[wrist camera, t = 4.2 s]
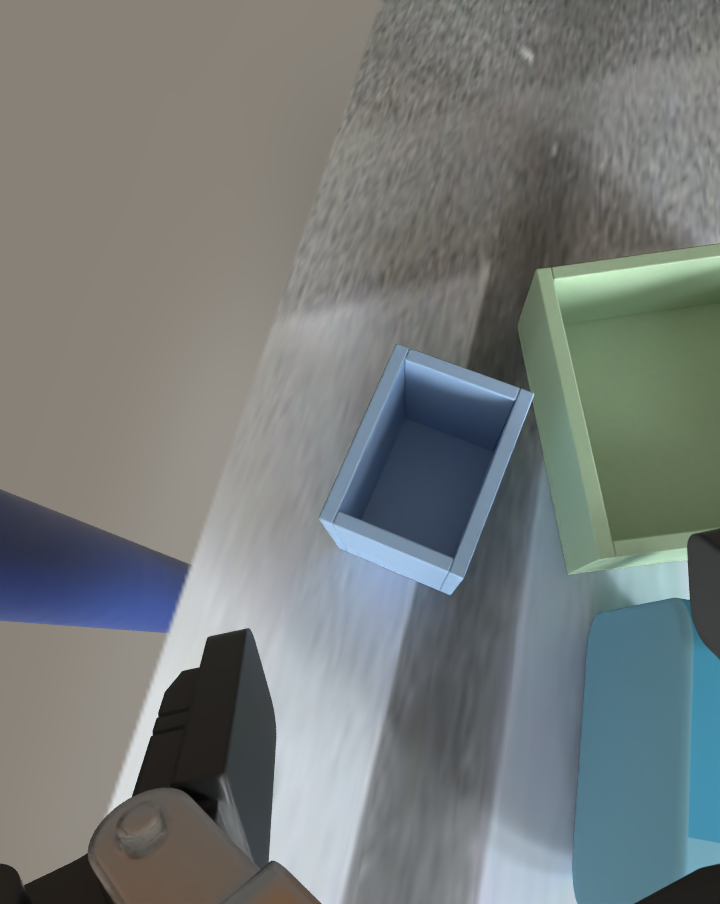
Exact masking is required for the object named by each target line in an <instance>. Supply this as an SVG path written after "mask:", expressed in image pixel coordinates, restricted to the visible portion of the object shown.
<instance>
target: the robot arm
mask: <svg viewBox="0 0 720 904" xmlns="http://www.w3.org/2000/svg"><path fill="white" fill-rule="evenodd" d="M687 556H688V573H689V591H690V608H691V615H692V620H693V623H694V626H695V628H696V631H697V633H698V635H699V637H700V638H701V640H702V641H703V643H704V644H705V645H706V646H707V647H708V649H709V650H710V651H711V652H712V653H713V654H714V655H715V656H716V657H717V658H718V659H719V660H720V528H718V529H713V530H709V531H704V532H700V533H695V534H692V535H691V536H690V537H689V539H688V543H687ZM158 715H159V718H157V719H156V722H155V725H154V728H153V736H151V738H150V741H149V744H148V747H147V751H146V754H145V757H144V760H143V763H142V766H141V770H140V773H139V776H138V779H137V782H136V785H135V789H134V792H133V795H132V798H130V799H128V800H126V801H125V802H123V803H122V804H120V805H119V806H118V807H116V808H115V809H114V810H113V811H111V812H110V813H109V814H108V815H107V816H106V817H105V818H104V819H103V821H102V822H101V823H100V824H99V826H98V827H97V829H96V830H95V832H94V834H93V836H92V838H91V840H90V844H89V847H88V853H87V854H86V855H84V856H82V857H81V858H79V859H77V860H75V861H73V862H72V863H70V864H68V865H65V866H64V867H61V868H59V869H57V870H55V871H53V872H51V873H49V874H47V875H45V876H42V877H40V878H38V879H36V880H34V881H32V882H30V883H28V884H26V885H23V883H22V880H21V878H20V876H19V874H18V872H17V871H16V870H15V869H14V868H13V867H11V866H8V865H6V864H0V904H321V903H320V902H319V901H318V900H317V899H316V898H315V897H314V896H313V895H312V894H311V893H310V892H309V891H308V890H307V889H306V888H305V887H304V886H303V885H302V884H301V883H300V882H299V881H298V880H297V879H296V878H295V877H294V876H293V875H292V874H291V873H290V872H289V871H288V870H287V869H286V868H285V867H283V866H282V865H281V864H279V863H278V862H276V861H270V862H269V846H270V830H271V814H272V797H273V781H274V765H275V749H276V722H275V715H274V709H273V704H272V700H271V696H270V692H269V689H268V685H267V682H266V678H265V675H264V671H263V667H262V664H261V660H260V657H259V653H258V650H257V646H256V643H255V639H254V636H253V634H252V632H251V630H250V629H249V628H247V629H242V630H238V631H233V632H228V633H224V634H219V635H214V636H210V637H208V638H207V641H206V644H205V648H204V652H203V656H202V660H201V664H200V667H199V668H195V669H190V670H185V671H182V672H181V673H180V675H179V676H178V677H177V678H176V679H175V681H174V682H173V683H172V684H171V685H170V687H169V688H168V689H167V690H166V691H165V694H164V697H163V700H162V703H161V706H160V709H159V713H158ZM268 862H269V863H268ZM634 904H720V864H715V865H711V866H706V867H702V868H699V869H697V870H695V871H693V872H692V873H690V874H688V875H686V876H684V877H682V878H681V879H679V880H677V881H675V882H673V883H671V884H669V885H668V886H666V887H664V888H662V889H660V890H658V891H656V892H655V893H653V894H651V895H649V896H647V897H645V898H644V899H642V900H640V901H638V902H636V903H634Z"/></svg>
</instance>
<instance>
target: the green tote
mask: <svg viewBox="0 0 720 904" xmlns="http://www.w3.org/2000/svg"><path fill="white" fill-rule="evenodd" d="M517 329H518V334H519V339H520V344H521V348H522V353H523V358H524V363H525V368H526V373H527V378H528V383H529V388H530V392H532V393H534V397H533V400H532V402H533V407H534V412H535V417H536V422H537V427H538V432H539V437H540V442H541V447H542V451H543V456H544V461H545V466H546V471H547V476H548V481H549V486H550V491H551V496H552V501H553V505H554V510H555V515H556V520H557V525H558V530H559V535H560V540H561V545H562V550H563V555H564V559H565V564H566V569H567V573H568V574H569V575H572V574H580V573H587V572H595V571H603V570H611V569H619V568H627V567H635V566H642V565H650V564H658V563H666V562H674V561H682V560H688V556H687V543H688V539H689V537H690V536H691V535H692V534H695V533H700V532H704V531H709V530H713V529H718V528H720V243H719V244H712V245H705V246H698V247H691V248H683V249H676V250H669V251H662V252H655V253H648V254H641V255H634V256H627V257H620V258H612V259H605V260H598V261H591V262H584V263H577V264H570V265H563V266H556V267H552V268H550V267H548V268H541V269H536V271H535V274H534V277H533V280H532V283H531V286H530V289H529V292H528V295H527V298H526V301H525V304H524V307H523V310H522V313H521V316H520V319H519V322H518V325H517Z"/></svg>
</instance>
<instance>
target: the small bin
mask: <svg viewBox="0 0 720 904" xmlns="http://www.w3.org/2000/svg"><path fill="white" fill-rule="evenodd" d="M533 397H534V393H532V392H530V391H527V390H524V389H520V388H518V387H516V386H513V385H510V384H507V383H505V382H502V381H499V380H496V379H494V378H491V377H488V376H485V375H482V374H480V373H477V372H474V371H471V370H469V369H466V368H463V367H460V366H458V365H455V364H452V363H449V362H446V361H444V360H441V359H438V358H435V357H433V356H430V355H427V354H424V353H422V352H419V351H416V350H413V349H409V348H408V347H405V346H402V345H399V344H396V345H395V348H394V350H393V352H392V354H391V357H390V359H389V361H388V363H387V366H386V368H385V370H384V372H383V375H382V377H381V379H380V381H379V384H378V386H377V388H376V390H375V393H374V395H373V397H372V399H371V402H370V404H369V406H368V408H367V410H366V413H365V415H364V417H363V419H362V422H361V424H360V426H359V428H358V431H357V433H356V435H355V437H354V440H353V442H352V444H351V446H350V449H349V451H348V453H347V455H346V458H345V460H344V462H343V464H342V467H341V469H340V471H339V473H338V476H337V478H336V480H335V482H334V485H333V487H332V489H331V491H330V494H329V496H328V498H327V500H326V503H325V505H324V507H323V509H322V512H321V514H320V516H319V520H320V521H321V523H322V524H323V525H324V527H325V528H326V530H327V531H328V533H329V534H330V536H331V537H332V539H333V540H334V542H335V543H336V545H337V546H338V548H339V549H342V550H344V551H346V552H349V553H351V554H353V555H356V556H358V557H361V558H363V559H365V560H368V561H370V562H372V563H375V564H377V565H380V566H382V567H384V568H387V569H389V570H391V571H394V572H396V573H399V574H401V575H403V576H406V577H408V578H410V579H413V580H415V581H418V582H420V583H422V584H425V585H427V586H429V587H432V588H434V589H437V590H439V591H441V592H444V593H446V594H448V595H451V594H452V593H453V591H454V590H455V589H456V588H457V586H458V585H459V584H460V582H461V581H462V580H463V579H464V577H465V574H466V572H467V569H468V566H469V564H470V561H471V559H472V556H473V553H474V551H475V548H476V546H477V543H478V540H479V538H480V535H481V532H482V530H483V527H484V525H485V522H486V519H487V517H488V514H489V512H490V509H491V506H492V504H493V501H494V499H495V496H496V493H497V491H498V488H499V486H500V483H501V480H502V478H503V475H504V473H505V470H506V467H507V465H508V462H509V459H510V457H511V454H512V452H513V449H514V446H515V444H516V441H517V439H518V436H519V433H520V431H521V428H522V426H523V423H524V420H525V418H526V415H527V413H528V410H529V407H530V405H531V402H532V400H533Z"/></svg>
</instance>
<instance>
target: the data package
mask: <svg viewBox="0 0 720 904" xmlns="http://www.w3.org/2000/svg"><path fill="white" fill-rule="evenodd" d="M715 864H720V660H719V659H718V658H717V657H716V656H715V655H714V654H713V653H712V652H711V651H710V650H709V649H708V647H707V646H706V645H705V644H704V643H703V641H702V640H701V638H700V637H699V635H698V633H697V631H696V628H695V626H694V623H693V620H692V615H691V608H690V600H686V599H679V598H671V599H666V600H661V601H656V602H651V603H646V604H641V605H636V606H631V607H626V608H621V609H616V610H611V611H606V612H601V613H599V614H598V615H596V617H595V618H594V620H593V622H592V625H591V628H590V632H589V637H588V644H587V656H586V670H585V685H584V699H583V714H582V728H581V743H580V757H579V772H578V787H577V801H576V816H575V830H574V845H573V862H572V871H573V886H574V893H575V898H576V901H577V904H634V903H636V902H638V901H640V900H642V899H644V898H645V897H647V896H649V895H651V894H653V893H655V892H656V891H658V890H660V889H662V888H664V887H666V886H668V885H669V884H671V883H673V882H675V881H677V880H679V879H681V878H682V877H684V876H686V875H688V874H690V873H692V872H693V871H695V870H697V869H699V868H702V867H706V866H711V865H715Z"/></svg>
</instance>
